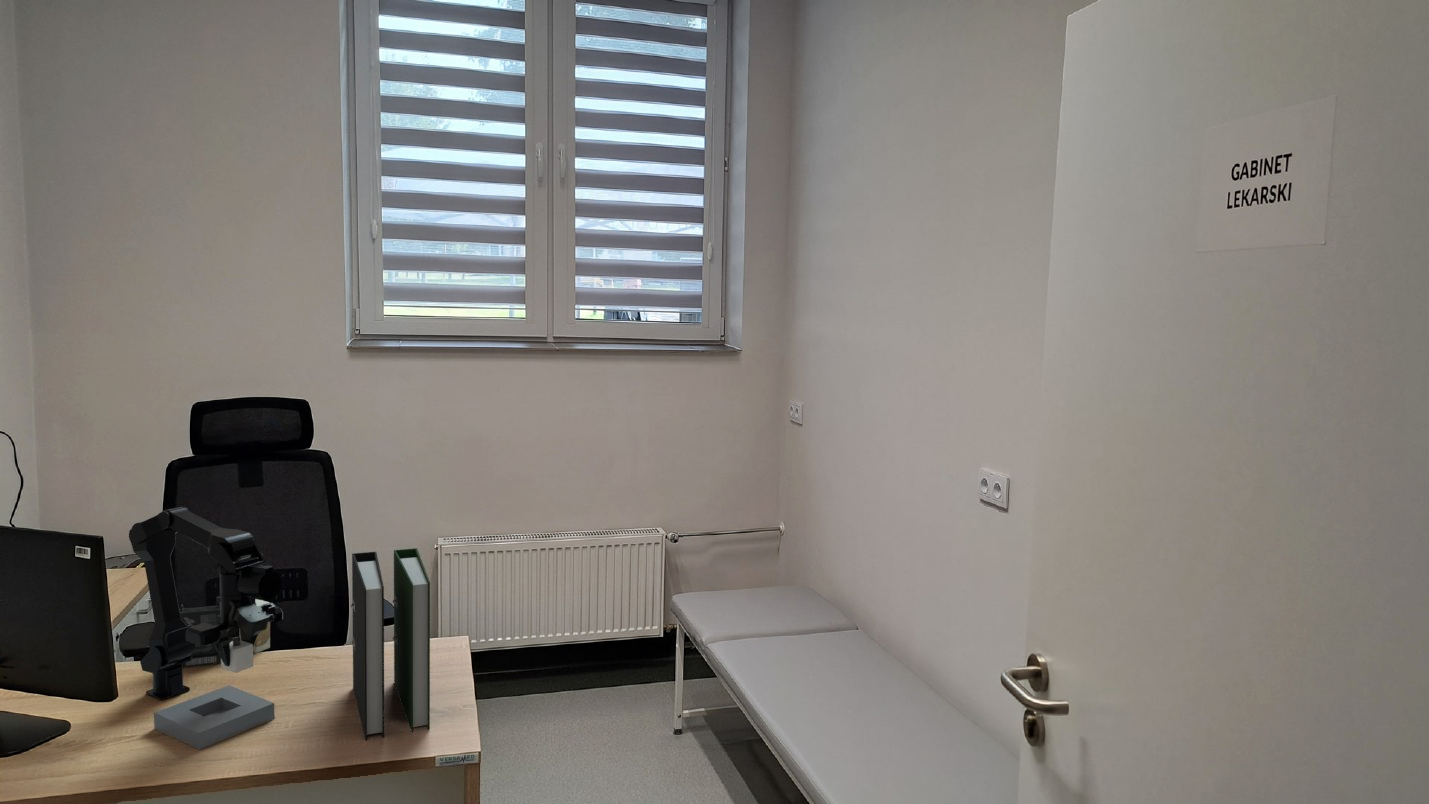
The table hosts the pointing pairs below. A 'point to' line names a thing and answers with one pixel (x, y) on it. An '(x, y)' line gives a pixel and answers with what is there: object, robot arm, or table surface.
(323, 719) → the table surface
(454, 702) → the table surface
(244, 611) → the robot arm
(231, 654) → the plug
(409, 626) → the books
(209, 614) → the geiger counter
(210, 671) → the table surface
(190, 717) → the socket
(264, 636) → the skincare box
